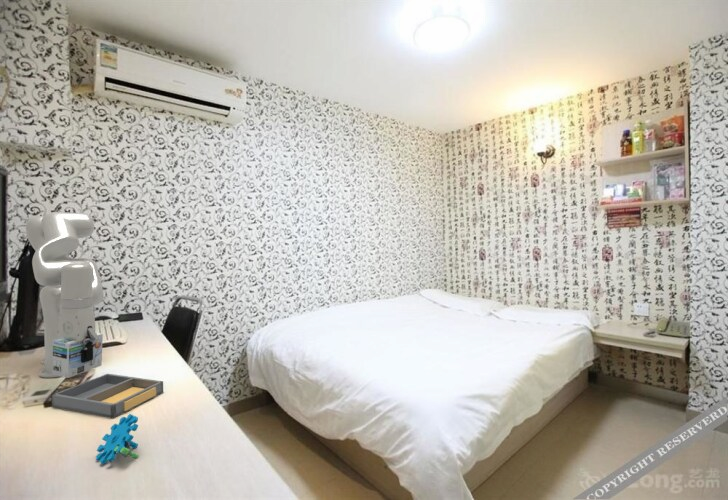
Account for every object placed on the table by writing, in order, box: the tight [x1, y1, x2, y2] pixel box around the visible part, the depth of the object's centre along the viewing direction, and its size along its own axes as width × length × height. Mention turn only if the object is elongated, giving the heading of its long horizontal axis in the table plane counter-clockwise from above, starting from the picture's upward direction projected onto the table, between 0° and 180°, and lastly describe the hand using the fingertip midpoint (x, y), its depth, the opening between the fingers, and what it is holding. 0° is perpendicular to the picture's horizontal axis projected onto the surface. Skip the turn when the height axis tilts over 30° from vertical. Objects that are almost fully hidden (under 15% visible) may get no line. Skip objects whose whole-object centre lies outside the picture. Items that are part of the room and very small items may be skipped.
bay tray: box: [51, 373, 164, 419], centre depth 102 cm, size 23×16×4 cm
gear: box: [95, 413, 139, 465], centre depth 77 cm, size 11×6×10 cm
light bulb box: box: [53, 331, 104, 379], centre depth 108 cm, size 11×7×11 cm, turn 166°
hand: (78, 359), depth 108 cm, fingers closed on light bulb box, 6 cm apart
